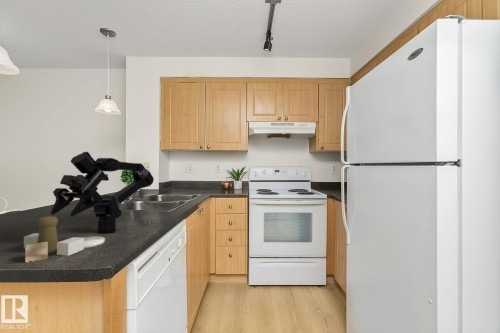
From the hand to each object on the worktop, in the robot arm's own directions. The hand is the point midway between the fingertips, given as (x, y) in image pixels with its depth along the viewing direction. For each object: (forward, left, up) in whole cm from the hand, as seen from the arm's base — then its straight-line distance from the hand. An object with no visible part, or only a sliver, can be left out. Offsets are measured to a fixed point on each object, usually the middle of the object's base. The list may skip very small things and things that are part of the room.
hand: (61, 214), depth 85 cm
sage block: (+8, -1, -11) cm, 14 cm away
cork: (+2, +4, -11) cm, 12 cm away
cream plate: (-8, -1, -11) cm, 13 cm away
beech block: (+1, +11, -11) cm, 16 cm away
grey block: (-6, +7, -11) cm, 15 cm away
